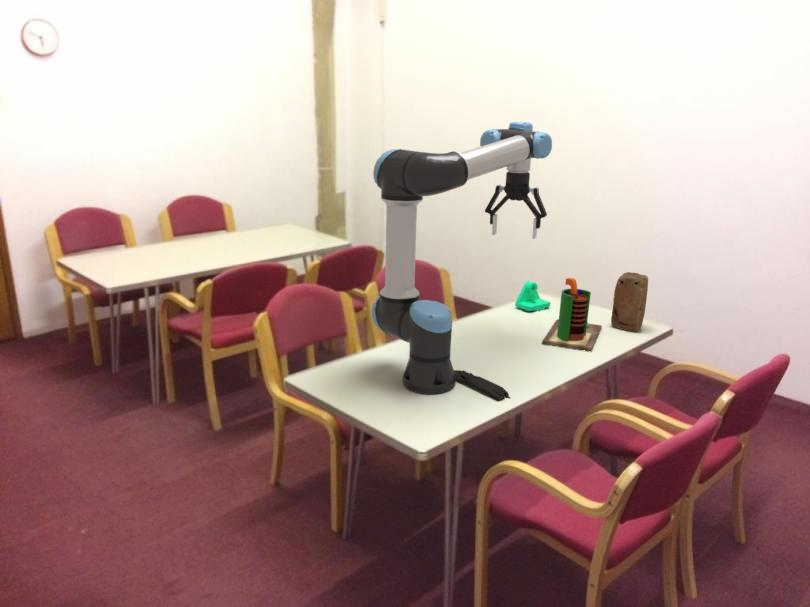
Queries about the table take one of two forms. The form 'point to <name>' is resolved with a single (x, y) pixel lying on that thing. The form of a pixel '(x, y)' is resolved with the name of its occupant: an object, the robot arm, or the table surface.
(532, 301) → the camera mount
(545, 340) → the mounting board
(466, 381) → the wood
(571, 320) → the motor
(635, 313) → the block
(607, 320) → the table surface
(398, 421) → the table surface
